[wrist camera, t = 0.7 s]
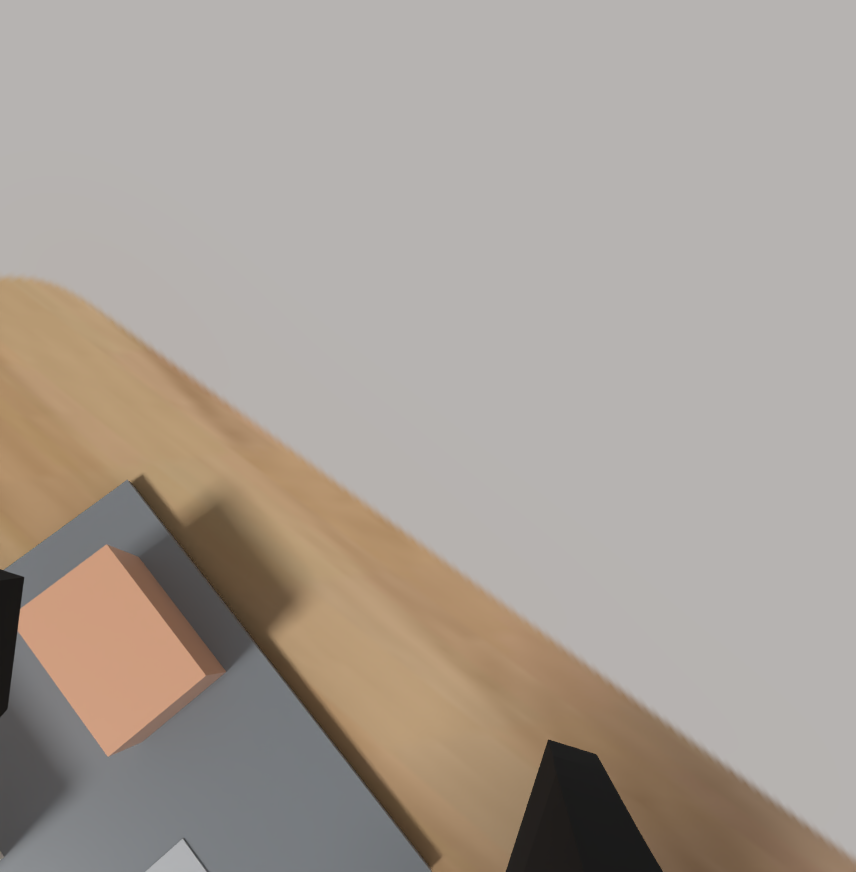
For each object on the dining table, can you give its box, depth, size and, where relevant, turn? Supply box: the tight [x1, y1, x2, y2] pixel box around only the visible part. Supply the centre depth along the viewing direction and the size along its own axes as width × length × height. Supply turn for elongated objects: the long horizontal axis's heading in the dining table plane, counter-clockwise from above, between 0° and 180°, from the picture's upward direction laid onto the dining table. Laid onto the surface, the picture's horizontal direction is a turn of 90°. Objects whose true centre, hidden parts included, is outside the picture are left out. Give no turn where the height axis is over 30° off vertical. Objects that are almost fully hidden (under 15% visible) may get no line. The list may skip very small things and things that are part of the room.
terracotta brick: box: [18, 544, 226, 757], centre depth 28 cm, size 4×6×4 cm, turn 41°
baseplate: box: [0, 480, 432, 872], centre depth 28 cm, size 17×20×1 cm
